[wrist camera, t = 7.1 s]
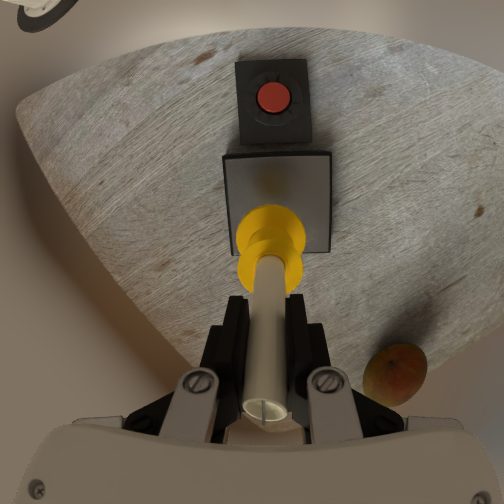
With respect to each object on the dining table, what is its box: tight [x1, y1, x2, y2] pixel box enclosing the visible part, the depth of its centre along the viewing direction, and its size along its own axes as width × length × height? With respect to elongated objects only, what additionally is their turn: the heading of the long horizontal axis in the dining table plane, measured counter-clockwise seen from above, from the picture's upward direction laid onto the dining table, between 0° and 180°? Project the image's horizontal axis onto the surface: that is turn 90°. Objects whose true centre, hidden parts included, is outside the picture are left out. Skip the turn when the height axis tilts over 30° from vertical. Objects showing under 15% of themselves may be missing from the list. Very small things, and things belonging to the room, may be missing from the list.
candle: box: [236, 204, 306, 426], centre depth 14 cm, size 5×5×16 cm
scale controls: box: [235, 59, 312, 145], centre depth 28 cm, size 10×8×3 cm
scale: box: [222, 150, 332, 256], centre depth 32 cm, size 12×12×3 cm
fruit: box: [363, 344, 427, 407], centre depth 39 cm, size 12×12×10 cm
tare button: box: [258, 82, 290, 113], centre depth 26 cm, size 3×3×2 cm
